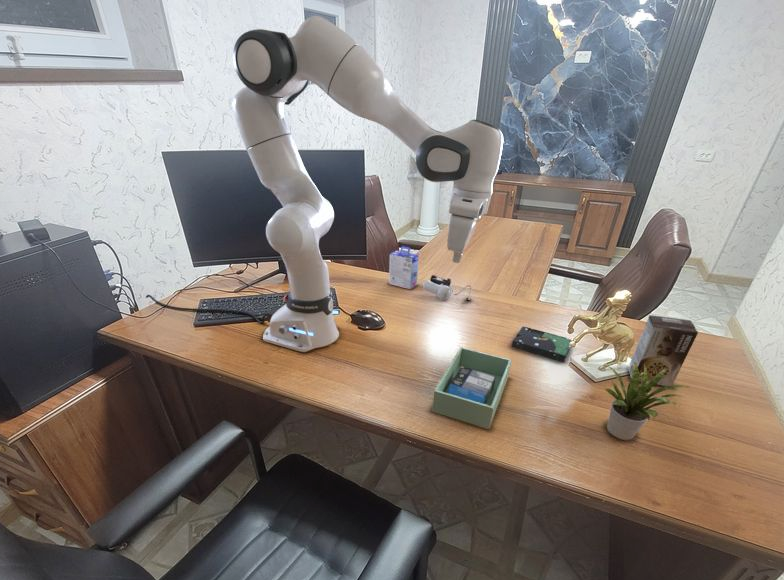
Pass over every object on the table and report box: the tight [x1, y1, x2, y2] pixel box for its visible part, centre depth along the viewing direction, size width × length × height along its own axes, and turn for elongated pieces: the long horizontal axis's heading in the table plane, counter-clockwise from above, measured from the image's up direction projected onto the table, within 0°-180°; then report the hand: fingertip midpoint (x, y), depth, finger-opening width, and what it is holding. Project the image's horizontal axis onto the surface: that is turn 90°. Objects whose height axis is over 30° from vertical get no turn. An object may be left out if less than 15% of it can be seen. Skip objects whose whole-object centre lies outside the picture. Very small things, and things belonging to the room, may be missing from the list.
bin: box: [431, 346, 512, 430], centre depth 93 cm, size 20×13×6 cm, turn 154°
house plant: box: [603, 362, 689, 441], centre depth 79 cm, size 14×14×16 cm
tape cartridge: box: [448, 367, 495, 404], centre depth 92 cm, size 9×4×12 cm
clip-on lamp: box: [422, 274, 472, 302], centre depth 140 cm, size 12×6×18 cm
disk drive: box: [510, 325, 572, 364], centre depth 112 cm, size 10×3×15 cm
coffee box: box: [627, 314, 699, 387], centre depth 97 cm, size 9×6×16 cm
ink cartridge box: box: [388, 245, 419, 290], centre depth 146 cm, size 10×6×14 cm, turn 59°
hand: (456, 261), depth 96 cm, fingers closed
